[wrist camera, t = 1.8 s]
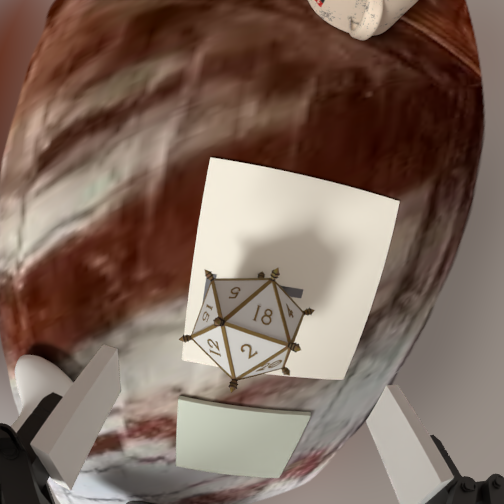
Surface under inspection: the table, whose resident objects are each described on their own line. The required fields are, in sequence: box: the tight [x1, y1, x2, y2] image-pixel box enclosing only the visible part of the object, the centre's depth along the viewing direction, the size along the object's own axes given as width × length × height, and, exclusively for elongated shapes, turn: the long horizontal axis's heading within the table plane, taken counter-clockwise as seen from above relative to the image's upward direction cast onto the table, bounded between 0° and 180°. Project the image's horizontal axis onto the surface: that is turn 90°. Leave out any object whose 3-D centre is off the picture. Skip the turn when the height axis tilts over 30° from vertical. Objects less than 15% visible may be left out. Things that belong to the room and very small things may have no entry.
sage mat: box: [176, 396, 311, 478], centre depth 28 cm, size 14×14×1 cm
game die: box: [179, 268, 315, 393], centre depth 20 cm, size 9×8×10 cm
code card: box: [182, 157, 400, 380], centre depth 23 cm, size 18×16×1 cm
